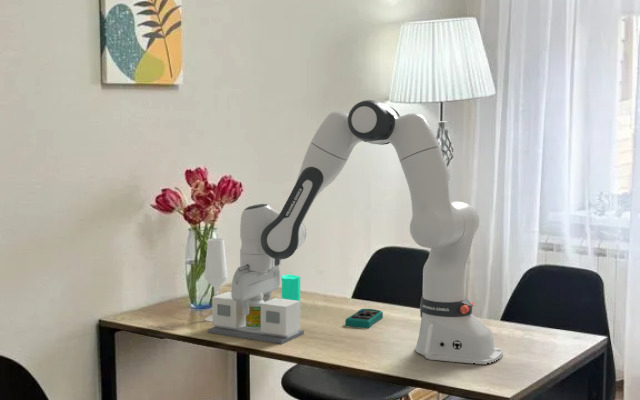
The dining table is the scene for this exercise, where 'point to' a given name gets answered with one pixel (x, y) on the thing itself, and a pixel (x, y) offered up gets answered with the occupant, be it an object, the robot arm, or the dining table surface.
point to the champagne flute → (215, 265)
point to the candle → (291, 287)
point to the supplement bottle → (254, 313)
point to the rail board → (275, 319)
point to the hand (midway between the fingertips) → (256, 311)
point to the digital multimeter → (364, 318)
